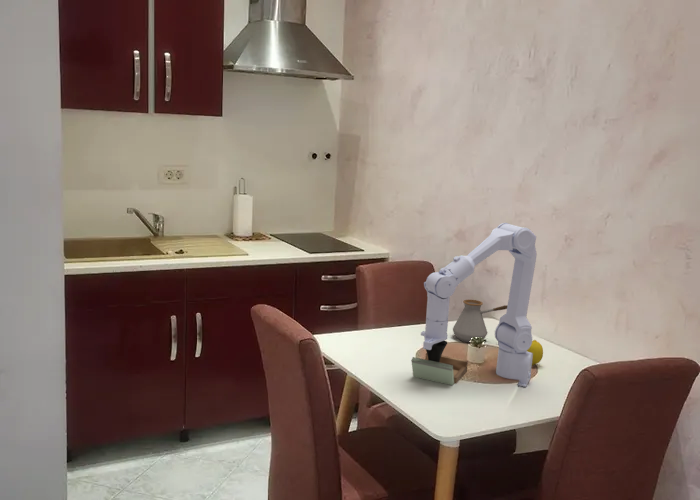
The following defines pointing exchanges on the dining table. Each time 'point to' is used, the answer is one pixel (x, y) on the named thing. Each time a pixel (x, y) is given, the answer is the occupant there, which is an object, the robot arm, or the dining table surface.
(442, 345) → the robot arm
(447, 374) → the panel
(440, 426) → the dining table surface
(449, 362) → the tray
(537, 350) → the lemon
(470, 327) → the coffee pot
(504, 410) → the dining table surface
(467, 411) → the dining table surface
